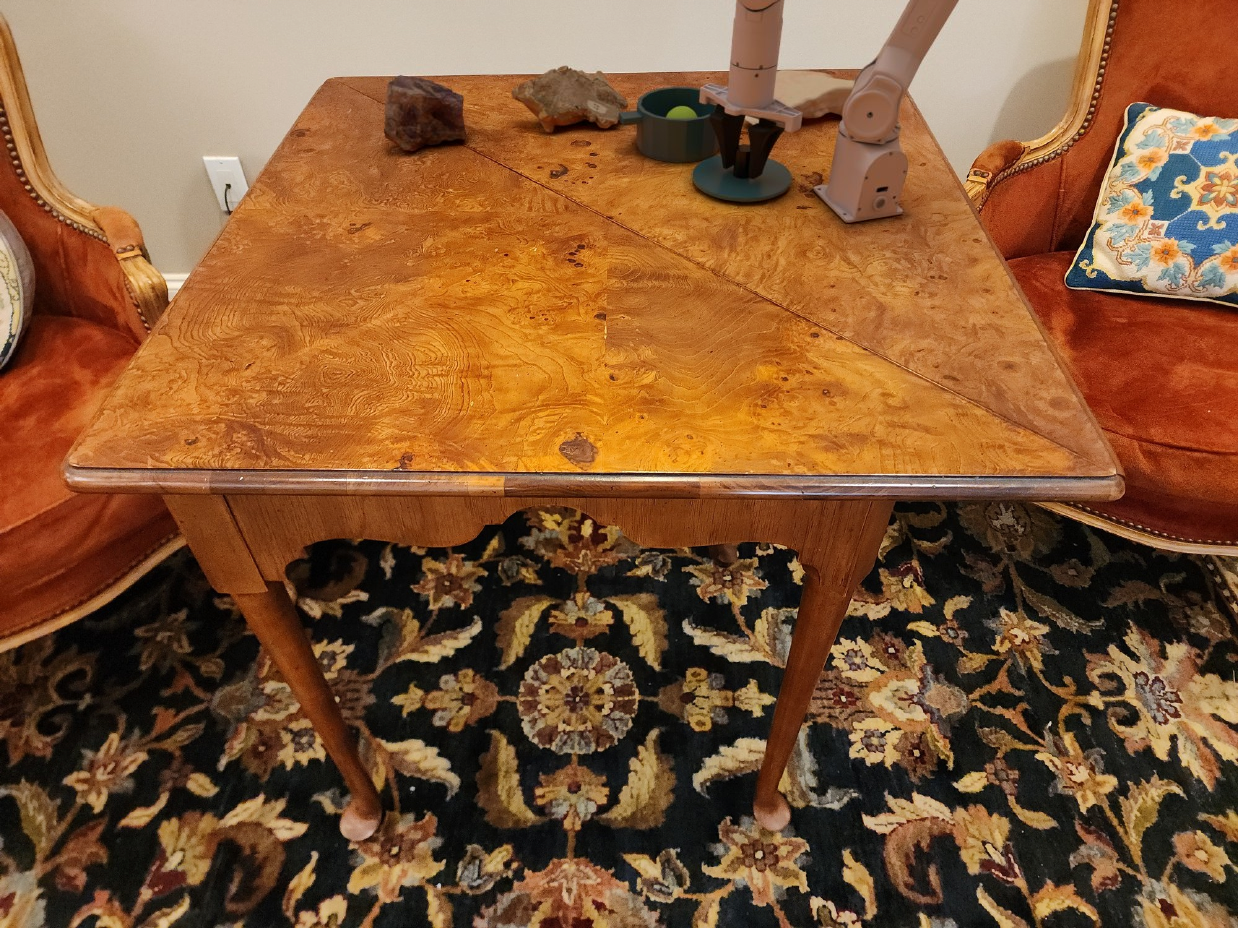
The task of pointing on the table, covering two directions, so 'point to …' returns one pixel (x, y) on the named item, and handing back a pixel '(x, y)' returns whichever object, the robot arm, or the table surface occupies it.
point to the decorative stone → (810, 93)
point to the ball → (681, 113)
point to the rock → (422, 113)
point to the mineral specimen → (570, 98)
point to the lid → (741, 178)
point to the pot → (673, 126)
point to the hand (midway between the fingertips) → (742, 171)
